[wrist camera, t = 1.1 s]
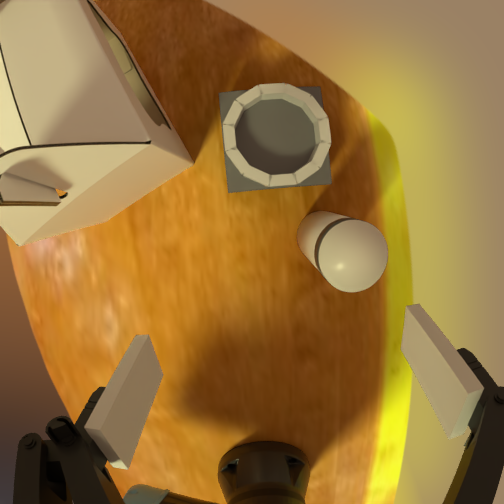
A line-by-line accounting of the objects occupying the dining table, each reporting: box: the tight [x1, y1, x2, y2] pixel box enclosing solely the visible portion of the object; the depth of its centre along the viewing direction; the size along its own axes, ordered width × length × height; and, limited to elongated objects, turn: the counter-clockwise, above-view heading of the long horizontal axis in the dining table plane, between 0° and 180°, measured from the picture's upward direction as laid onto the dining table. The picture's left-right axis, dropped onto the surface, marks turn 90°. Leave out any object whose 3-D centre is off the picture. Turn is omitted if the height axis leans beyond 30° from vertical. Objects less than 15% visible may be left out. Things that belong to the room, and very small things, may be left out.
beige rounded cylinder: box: [297, 211, 388, 292], centre depth 31 cm, size 6×6×12 cm
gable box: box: [0, 0, 194, 246], centre depth 20 cm, size 22×13×28 cm, turn 29°
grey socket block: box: [219, 83, 332, 193], centre depth 31 cm, size 10×10×8 cm
